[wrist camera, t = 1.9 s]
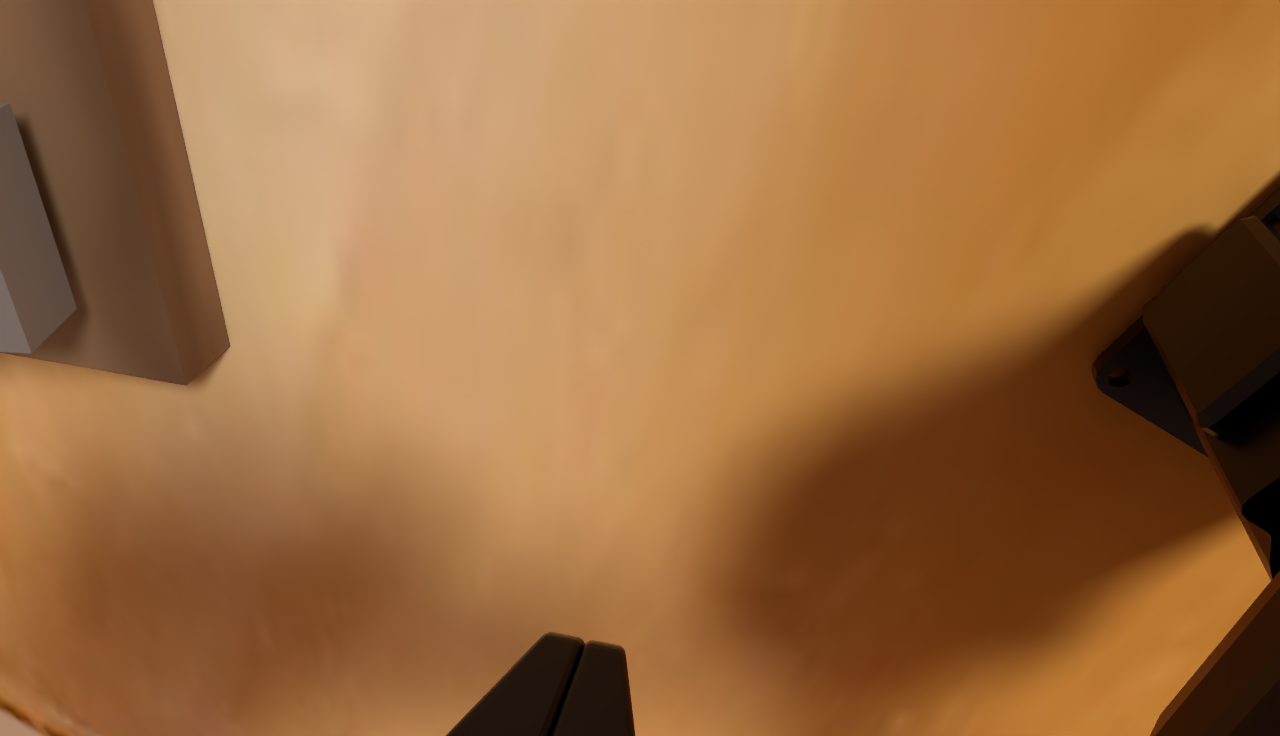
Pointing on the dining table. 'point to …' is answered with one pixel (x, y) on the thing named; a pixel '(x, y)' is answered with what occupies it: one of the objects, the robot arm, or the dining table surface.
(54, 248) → the lever
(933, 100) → the dining table surface
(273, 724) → the dining table surface
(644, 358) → the dining table surface
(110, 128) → the base
